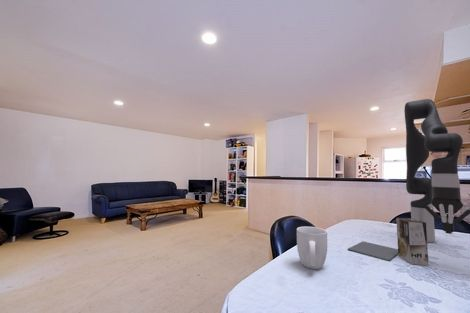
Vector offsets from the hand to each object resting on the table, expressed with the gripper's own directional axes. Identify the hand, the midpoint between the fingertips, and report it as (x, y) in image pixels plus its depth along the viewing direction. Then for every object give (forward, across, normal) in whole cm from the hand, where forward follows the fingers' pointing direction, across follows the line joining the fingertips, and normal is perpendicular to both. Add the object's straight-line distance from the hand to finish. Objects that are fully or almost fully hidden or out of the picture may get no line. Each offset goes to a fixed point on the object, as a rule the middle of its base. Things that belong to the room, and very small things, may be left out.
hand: (448, 233), depth 79 cm
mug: (+14, +33, +38) cm, 52 cm away
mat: (+13, +24, 0) cm, 28 cm away
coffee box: (+13, +11, 0) cm, 17 cm away
